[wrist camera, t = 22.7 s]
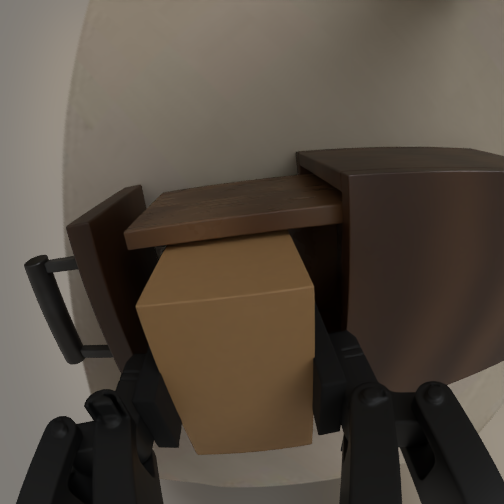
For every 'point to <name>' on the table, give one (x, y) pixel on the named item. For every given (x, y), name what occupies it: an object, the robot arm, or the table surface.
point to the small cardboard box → (235, 340)
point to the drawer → (180, 231)
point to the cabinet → (420, 258)
